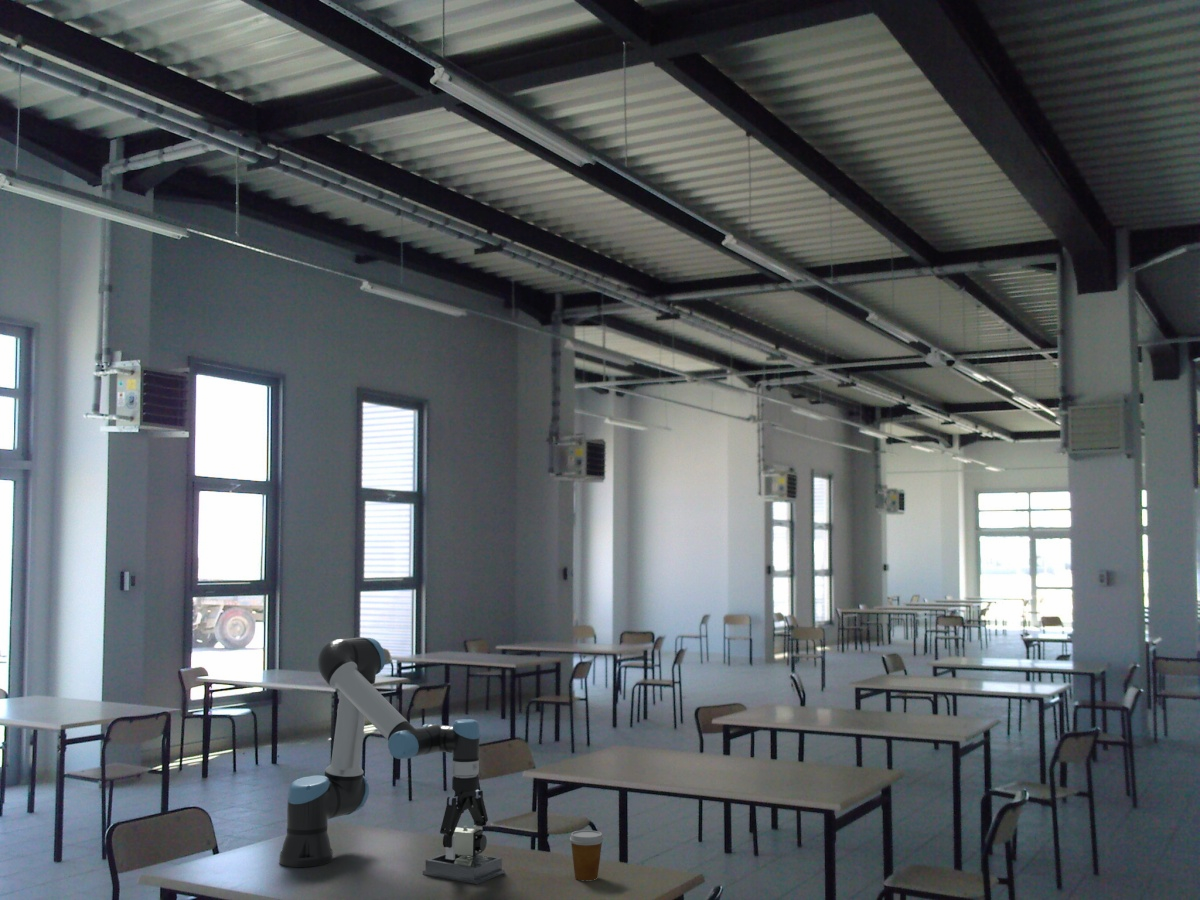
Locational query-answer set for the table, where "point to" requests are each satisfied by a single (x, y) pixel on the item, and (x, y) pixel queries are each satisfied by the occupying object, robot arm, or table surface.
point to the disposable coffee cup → (586, 853)
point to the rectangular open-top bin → (465, 868)
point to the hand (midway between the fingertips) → (464, 854)
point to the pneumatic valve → (468, 844)
